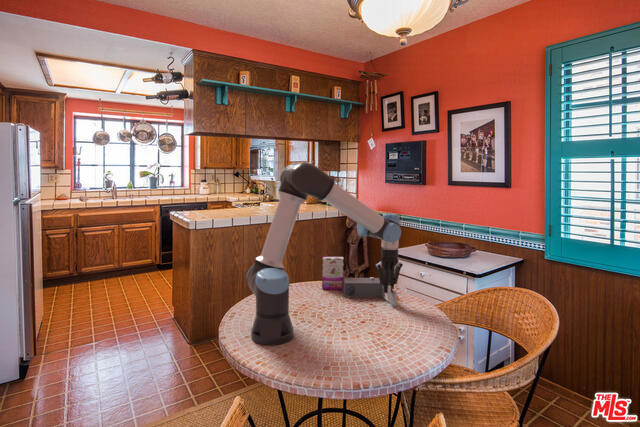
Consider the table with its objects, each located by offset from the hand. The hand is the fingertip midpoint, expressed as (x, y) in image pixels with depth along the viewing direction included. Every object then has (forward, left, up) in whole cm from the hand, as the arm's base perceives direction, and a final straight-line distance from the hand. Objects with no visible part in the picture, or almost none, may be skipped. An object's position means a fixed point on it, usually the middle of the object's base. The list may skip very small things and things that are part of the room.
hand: (387, 299), depth 162 cm
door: (+2, +4, -2) cm, 5 cm away
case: (-9, +15, -3) cm, 18 cm away
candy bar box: (-23, +24, -3) cm, 33 cm away
